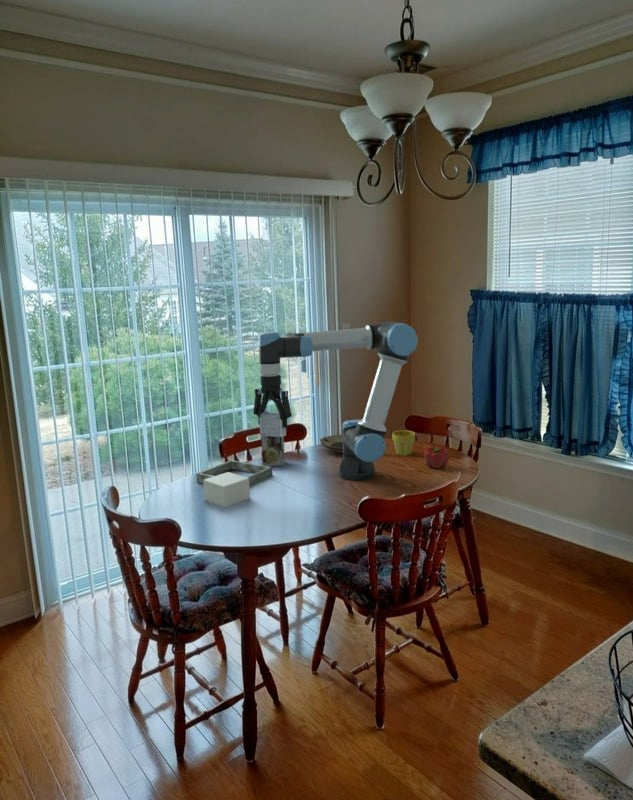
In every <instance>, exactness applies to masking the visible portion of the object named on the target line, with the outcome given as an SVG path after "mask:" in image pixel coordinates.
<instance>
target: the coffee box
mask: <svg viewBox="0 0 633 800" xmlns="http://www.w3.org/2000/svg"><path fill="white" fill-rule="evenodd" d="M260 435H261V451H262V466H268V467H272V466H273V467H275V466H276V467H277V466H279V467H281V466H282V467H283V466H284V464H285V463H286V461H285V459H286V458H285V441H284V440H285V439H284V437H285V436H283V437H273V436H262V434H260Z"/></svg>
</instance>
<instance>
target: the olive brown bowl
mask: <svg viewBox="0 0 633 800" xmlns="http://www.w3.org/2000/svg"><path fill="white" fill-rule="evenodd" d="M319 441H320V445H322V446H323V447H324V448H326V449H329V450H331V451H333V452H336V453H341V454H343V437H342V434H336V435H335V434H334V435H328V436H323V437H322V438H320V439H319Z"/></svg>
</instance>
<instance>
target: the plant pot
mask: <svg viewBox="0 0 633 800" xmlns="http://www.w3.org/2000/svg"><path fill="white" fill-rule="evenodd" d="M391 434H392V435H391V437H392V441H393V443H394V448H395V452H396V455H398V454H400V455H399V456H408V455H407V454H410V455H411V454H412V452H413V451H412V450H413V448H414V447H413V446H414V442H416V432H414V431H412V430H404V429H403V430H396V431H393V432H392V433H391Z"/></svg>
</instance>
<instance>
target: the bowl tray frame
mask: <svg viewBox="0 0 633 800" xmlns="http://www.w3.org/2000/svg"><path fill="white" fill-rule="evenodd" d="M227 470H228V471H229V470H235V471H236V470H237V471H241V472H246V473H247V472H248V473H252V474H251V475H248V476H246V477H247V478H249V487H251V486H253V485H255V484H257V483H259V482H261V481H263V480H265V479H267V478H268V479H269V478H270V477H272V476H273V467H272V466H263V464H255V463H250V462H246V461H245V462H244V461H239V460H233V459H230V460H227V461H226V462H222V463H220V464H217V465H215V466H213V467H209V468H208V469H204V470H202V471H200V472H196V482H197V483H201V484H203V480H204V479H208V478H211V477H214V476H217V475H220V474H224V473H226V472H228V471H227Z"/></svg>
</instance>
